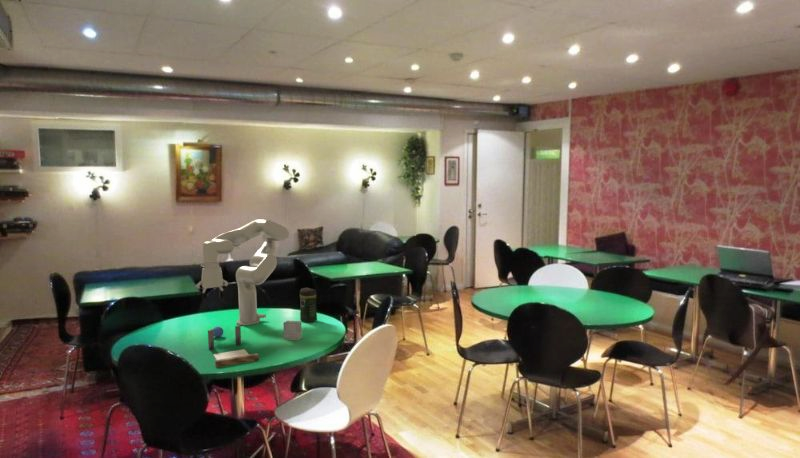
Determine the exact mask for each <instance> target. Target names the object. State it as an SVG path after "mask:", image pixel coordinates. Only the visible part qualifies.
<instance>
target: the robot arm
mask: <svg viewBox="0 0 800 458" xmlns="http://www.w3.org/2000/svg"><path fill="white" fill-rule="evenodd" d="M260 235H262V244H261V246H260V248H258V250H256V251H255V253H254V254H253V255H252V256H251V258H250V259H249V265H242V266H240V267H238V268H237V270H236V272H235V281H236V284H237V290H238V291H237V293H238V316H239V318H238V319H237V320H236V324H237V326H252V325H257V324H259V323H261V319H264V318H266V317H267V314H266V313H260V314H259V313H258V308H257V306H258V303H257V288H256V286H260V285H262V284H263V283H264V282H265V281H266V280H267V279H268V278H269V277H270V275H271V274H272V273H273V272H274V270H275V269H276V267H277V265H278V260H277V257H276V256H275V253H276V252H277V250H276V249H277V247H276V242H284V241H287V240H288V239H289V236H290V232H289V230H288V228H287V227H286V226H284V225H282V224H281V223H277V222H276V221H273V220H270V219H261V218H259V219H258V218H257V219H254V220H252V221H250V222H248V223H246V224H244V225H243V226H241V227H239V228H236V229H233V230H230V231H227V232H224V233H221V234H219V235H217V236H216V237H214V238H212V239H211V240H209V241H204V242H203V243H202V256H203V257H202V258H203V259H202V260H203V262H202V263H200V267H203V268H201V280H199V282H198V283H196V284H195V288H197V289H198V290H199V291H200V292H201V293H202V299H203V301H207V292H206V291H207V289H213V288H218V289H219V291H218V294H219V295H218V297H219V299H220V300H222V298H223V297H224V292H223V291H224V290H225V289H226V288H227V287H228V285H229V282H228V281H227V280H225V279H224V278H223V271H222V267H221V266H220V255H229V254H230V253H232V252H233V251H234V249H235V245H238V244H239V245H241V244H245V243H248V242H250V241H251V240H253V239H255V238H256V237H258V236H260ZM200 286H201V287H202V288H201V287H200Z"/></svg>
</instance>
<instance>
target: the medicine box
mask: <svg viewBox="0 0 800 458" xmlns="http://www.w3.org/2000/svg"><path fill="white" fill-rule="evenodd" d="M282 326H283V340H290V341H300V340H302V338H303V331H302V329H303V328H302V321H301V320H300V321H299V320H289V319H287V320H286V321H284V322H283V325H282Z"/></svg>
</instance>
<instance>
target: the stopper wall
mask: <svg viewBox="0 0 800 458" xmlns="http://www.w3.org/2000/svg"><path fill="white" fill-rule="evenodd" d="M259 359H260V358H259V353H257V352H256V353H251V354H249V355H244V356H238V357H232V358H226V359H220V360H216V359H215V360H214V366H215V368H219V367H220V368H221V367H225V366H226V367H227V366H231V365H233V366H234V365H238V364H239V365H240V364H243V363H249V362H255V361H259Z"/></svg>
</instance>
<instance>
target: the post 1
mask: <svg viewBox="0 0 800 458" xmlns="http://www.w3.org/2000/svg"><path fill="white" fill-rule="evenodd" d="M207 341H208V351H209V350H210V351H212V350H214V349H215V337H214V331H213V329H208V330H207Z"/></svg>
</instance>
